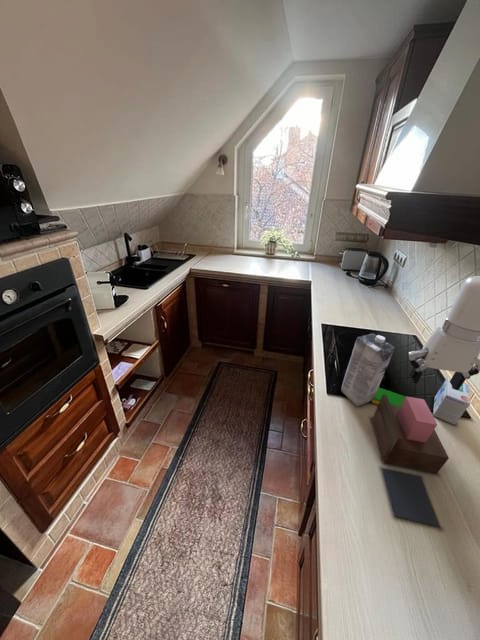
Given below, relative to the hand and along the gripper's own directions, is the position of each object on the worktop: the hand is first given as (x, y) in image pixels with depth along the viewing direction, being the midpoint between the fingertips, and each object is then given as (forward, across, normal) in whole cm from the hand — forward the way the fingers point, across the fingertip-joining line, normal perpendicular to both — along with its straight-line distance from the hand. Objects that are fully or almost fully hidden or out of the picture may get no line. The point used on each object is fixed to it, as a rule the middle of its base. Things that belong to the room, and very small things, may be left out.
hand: (433, 383), depth 68 cm
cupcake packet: (+18, 0, +1) cm, 18 cm away
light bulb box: (+26, -20, -18) cm, 37 cm away
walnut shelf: (+26, 0, +1) cm, 26 cm away
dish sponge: (+26, -2, -16) cm, 31 cm away
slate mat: (+26, +3, +17) cm, 31 cm away
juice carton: (+26, +11, -17) cm, 33 cm away
